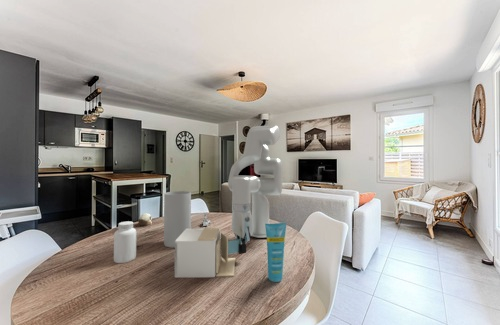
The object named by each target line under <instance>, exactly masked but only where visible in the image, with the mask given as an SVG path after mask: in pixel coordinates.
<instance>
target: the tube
mask: <svg viewBox="0 0 500 325" xmlns="http://www.w3.org/2000/svg"><path fill="white" fill-rule="evenodd" d="M265 228H266V237H265V238H266V249H267V254H266V255H267V277H268V280H269V281H271V282H274V283H279V282H281V281H283V272H284V258H285V257H284V255H285V254H284V253H285V240H286V231H287V222H275V223H274V222H273V223H269V224H266V223H265Z"/></svg>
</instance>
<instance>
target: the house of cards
mask: <svg viewBox="0 0 500 325" xmlns="http://www.w3.org/2000/svg"><path fill="white" fill-rule="evenodd" d="M207 218H208V217H207V213H204V217H203V220H202V222H201V225H202V224H203V226H207V225H208V224H210V225H211V220H210V219H209V220H208V219H207ZM203 226H202V227H203Z"/></svg>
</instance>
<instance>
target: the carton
mask: <svg viewBox="0 0 500 325" xmlns="http://www.w3.org/2000/svg"><path fill="white" fill-rule="evenodd" d="M235 266H236V257H228V263H227V262H226V261H225V260H224V259H223V258H222V257H221V228H220V227H202V228H191V229H185V231H184V232H183V233H182V234H181V235H180V236H179V237H178V238H177V239H176V240H175V248H174V278H216V277H217V278H218V277H219V278H220V277H223V278H224V277H225V278H226V277H234V276H235Z"/></svg>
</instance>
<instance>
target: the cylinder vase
mask: <svg viewBox="0 0 500 325" xmlns="http://www.w3.org/2000/svg"><path fill="white" fill-rule="evenodd" d="M163 196H164V198H163V201H164V202H163V203H164V204H163V208H164V209H163V245H164V246H165V247H166V248H173V249H175V240H176V239H177V238H178V237H179V236H180V235H181V234H182V233H183V232H184V231H185V229H192V192H191V191H185V190H180V191H177V190H176V191H168V192H164V194H163Z"/></svg>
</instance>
